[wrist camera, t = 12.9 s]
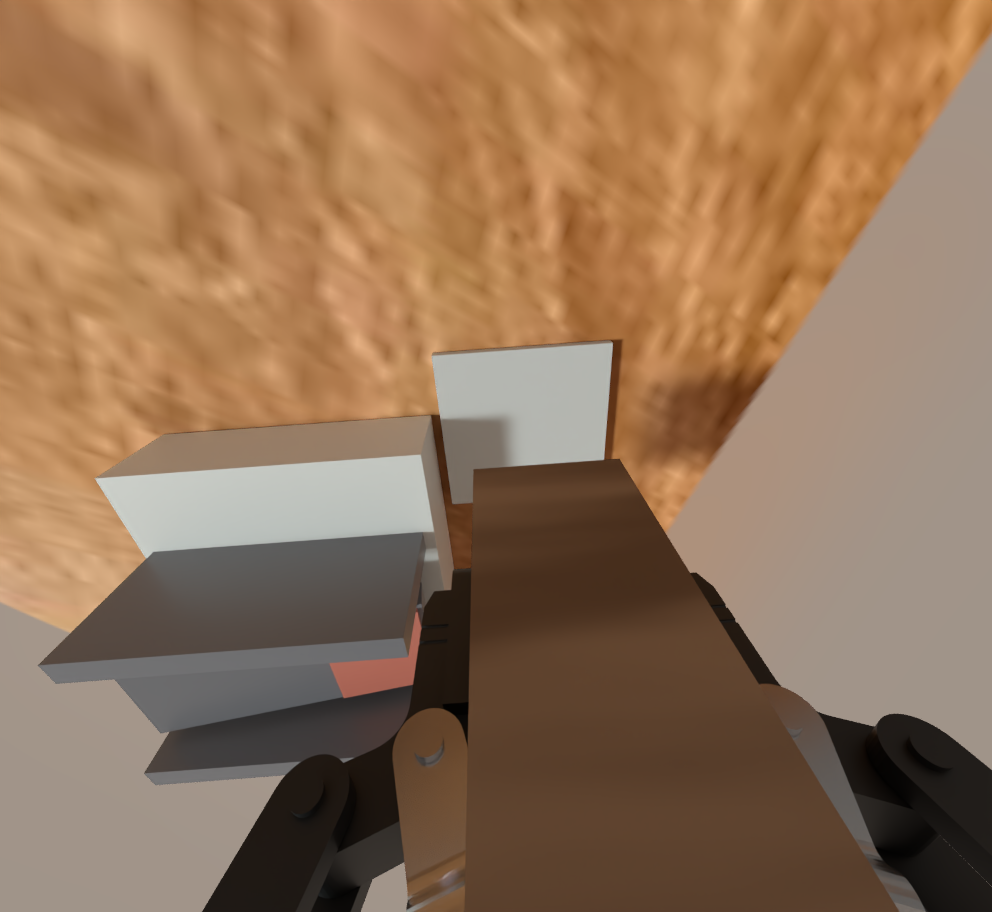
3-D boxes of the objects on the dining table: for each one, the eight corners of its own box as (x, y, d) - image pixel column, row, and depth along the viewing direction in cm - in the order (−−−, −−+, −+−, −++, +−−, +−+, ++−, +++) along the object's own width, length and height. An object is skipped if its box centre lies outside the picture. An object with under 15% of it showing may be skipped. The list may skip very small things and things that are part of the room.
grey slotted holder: (163, 434, 20) (-65, 580, 11) (430, 415, 20) (396, 546, 11) (272, 647, 27) (183, 825, 19) (463, 632, 27) (457, 804, 19)
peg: (473, 469, 12) (446, 1749, 2) (619, 458, 12) (1370, 1670, 2) (484, 575, 15) (499, 1445, 4) (608, 566, 15) (934, 1410, 4)
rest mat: (432, 352, 18) (431, 355, 18) (609, 340, 18) (613, 343, 18) (452, 499, 22) (452, 504, 22) (598, 488, 22) (601, 493, 22)
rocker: (119, 633, 16) (95, 665, 15) (421, 582, 18) (421, 607, 16) (175, 705, 19) (158, 738, 17) (436, 655, 20) (438, 682, 19)
